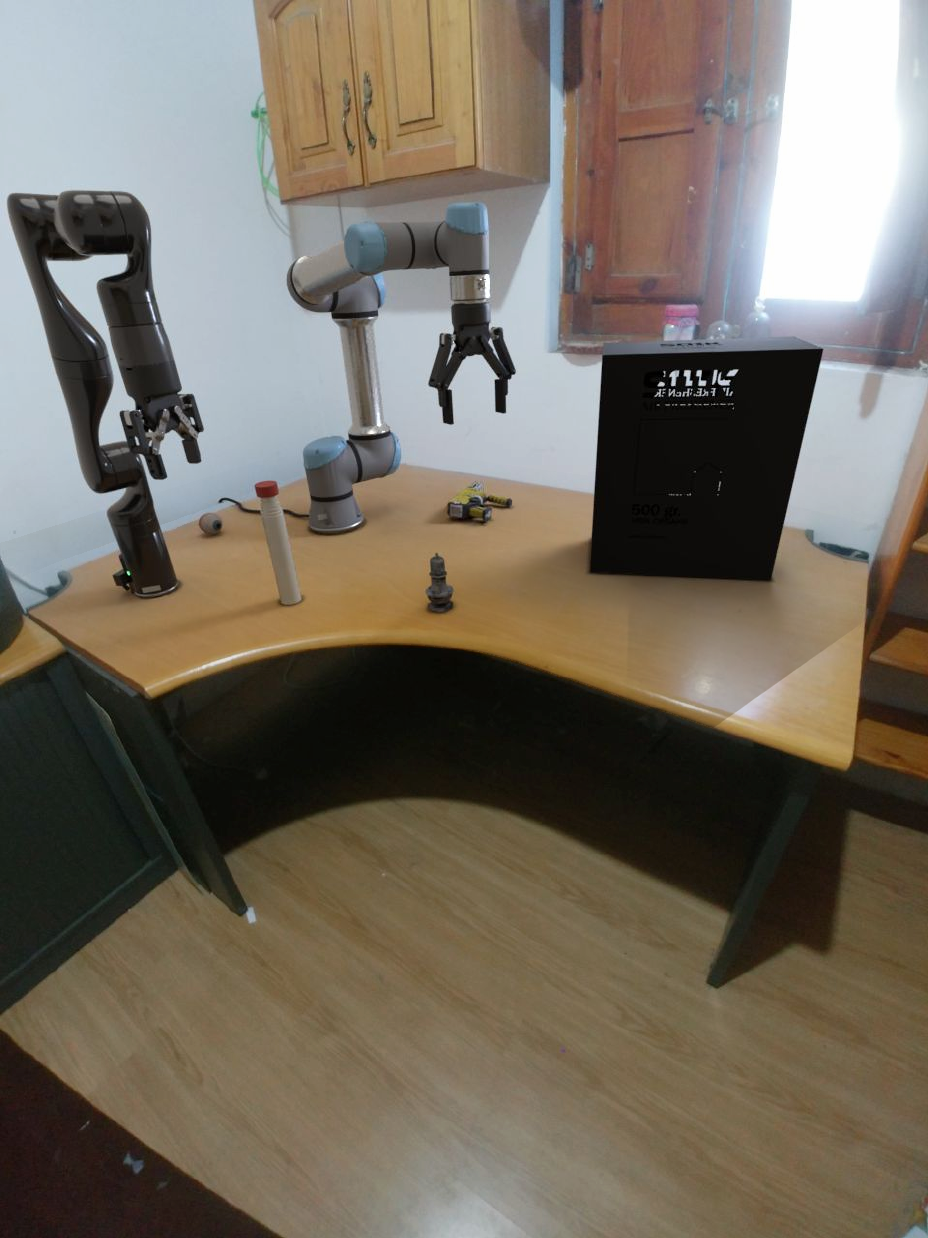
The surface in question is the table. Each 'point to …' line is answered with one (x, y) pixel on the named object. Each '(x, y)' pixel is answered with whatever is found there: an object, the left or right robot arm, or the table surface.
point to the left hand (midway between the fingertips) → (178, 470)
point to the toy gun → (474, 503)
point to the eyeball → (210, 523)
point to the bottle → (280, 550)
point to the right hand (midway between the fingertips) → (475, 417)
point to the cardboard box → (698, 455)
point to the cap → (266, 489)
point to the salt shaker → (439, 586)
